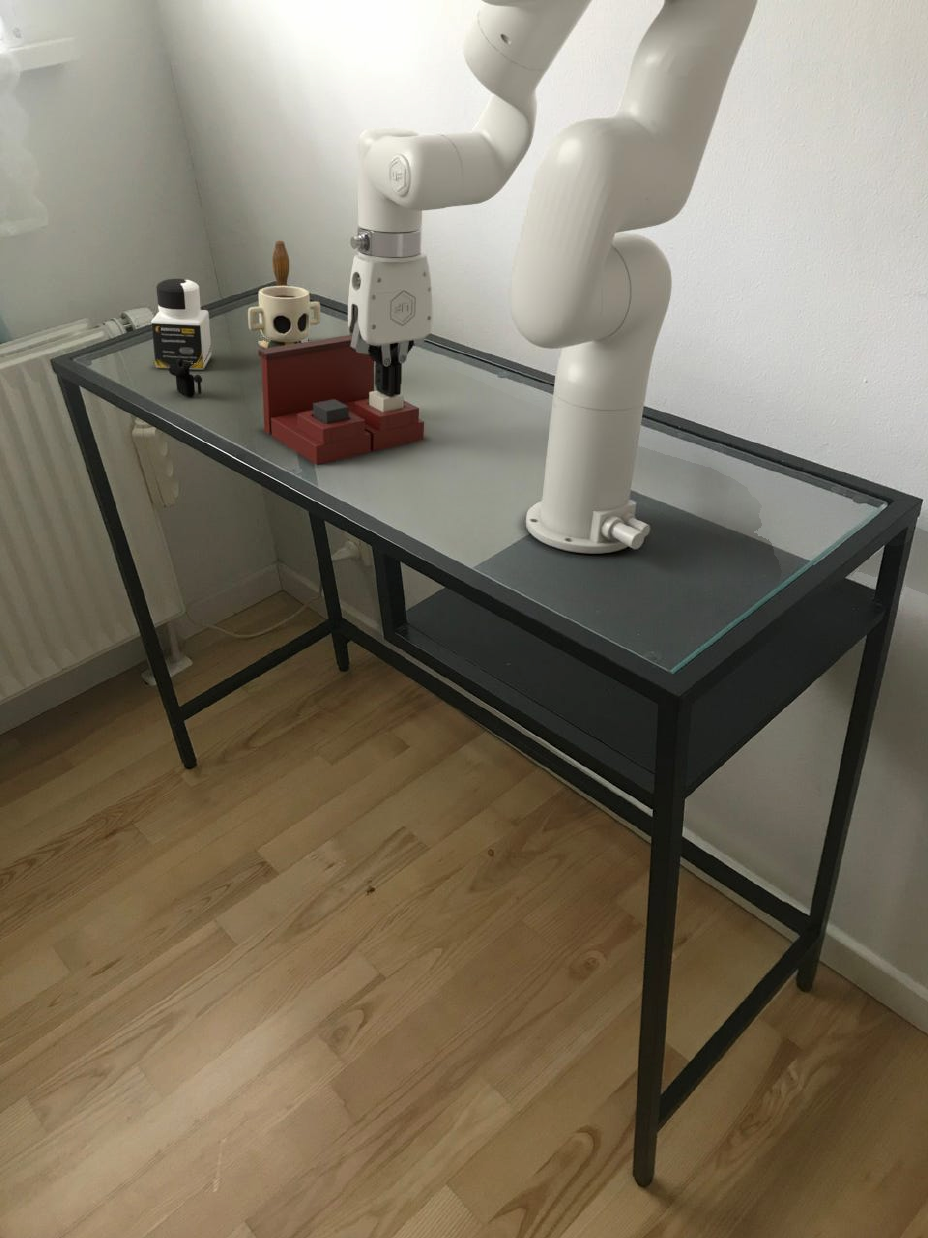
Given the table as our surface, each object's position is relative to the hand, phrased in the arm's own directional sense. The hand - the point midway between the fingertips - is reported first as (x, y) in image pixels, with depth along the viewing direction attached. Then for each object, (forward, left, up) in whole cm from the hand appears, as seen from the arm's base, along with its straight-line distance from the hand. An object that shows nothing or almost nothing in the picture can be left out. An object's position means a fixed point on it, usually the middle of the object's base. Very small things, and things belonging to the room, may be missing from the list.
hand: (388, 392), depth 133 cm
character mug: (+26, 0, -7) cm, 27 cm away
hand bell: (+42, -9, -7) cm, 43 cm away
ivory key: (0, 0, -2) cm, 2 cm away
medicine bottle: (+41, +9, -6) cm, 42 cm away
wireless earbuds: (+28, +15, -7) cm, 32 cm away
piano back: (+10, +4, -6) cm, 12 cm away
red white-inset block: (+3, 0, -6) cm, 7 cm away
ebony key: (0, +8, -2) cm, 9 cm away
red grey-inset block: (+3, +8, -6) cm, 11 cm away
